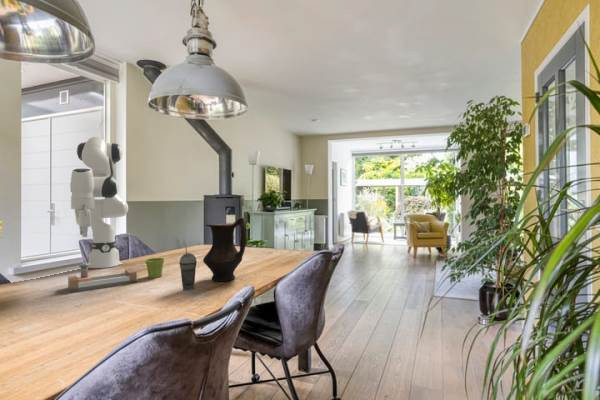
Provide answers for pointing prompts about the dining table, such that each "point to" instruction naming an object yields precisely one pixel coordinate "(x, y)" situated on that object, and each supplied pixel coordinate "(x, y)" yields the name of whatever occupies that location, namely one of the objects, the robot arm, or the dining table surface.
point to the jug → (225, 250)
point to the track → (103, 281)
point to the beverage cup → (188, 270)
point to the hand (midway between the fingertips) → (83, 235)
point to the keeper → (84, 273)
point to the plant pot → (154, 267)
